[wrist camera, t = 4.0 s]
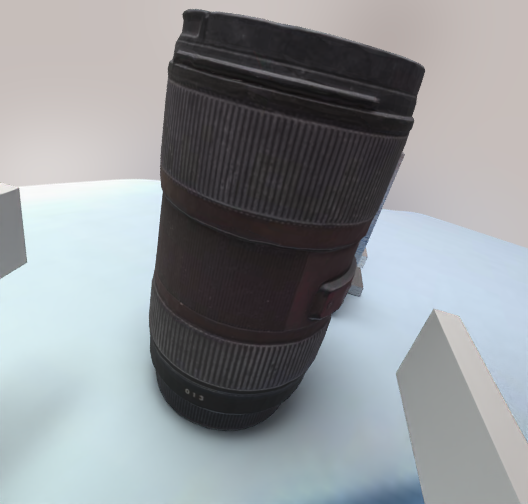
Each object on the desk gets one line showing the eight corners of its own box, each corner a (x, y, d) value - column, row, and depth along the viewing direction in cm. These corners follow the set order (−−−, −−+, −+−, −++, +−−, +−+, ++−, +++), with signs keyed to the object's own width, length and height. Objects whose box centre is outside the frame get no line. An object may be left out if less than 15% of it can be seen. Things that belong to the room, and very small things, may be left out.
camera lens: (264, 312, 23) (340, 57, 16) (327, 423, 17) (498, 86, 10) (133, 323, 19) (156, 2, 12) (152, 469, 13) (218, -10, 6)
